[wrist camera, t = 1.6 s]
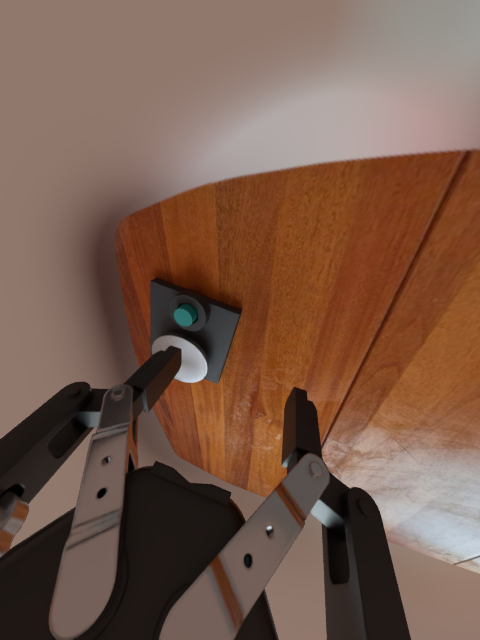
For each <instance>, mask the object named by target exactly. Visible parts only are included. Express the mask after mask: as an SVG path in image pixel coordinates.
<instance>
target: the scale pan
mask: <svg viewBox="0 0 480 640" xmlns="http://www.w3.org/2000/svg"><path fill="white" fill-rule="evenodd" d="M170 345H172V346H175V347H178V348H181V349H182V363H181V367H180V370H179V372H178V373H177V374H176V376H175V377H174V379H176V380H179V381H182V382H188V383H193V382H198V381H200V380H202V379H203V378H204V377H205V375H206V374H207V372H208V369H209V360H208V357H207V355H206V353H205V352H204V350H203V349H202V348H201V347H200V345H199V344H197V343H196V342H195V341H194V340H192V339H191V338H189V337H187V336H185V335H182V334H178V333H166V334H163V335H161V336H159V337H158V338H157V339H156V340H155V341H154V343H153V346H152V354H154V353H156V352H158V351H160V350H163V351H165V350H166V349H167V348H168V347H169V346H170Z"/></svg>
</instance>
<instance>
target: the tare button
mask: <svg viewBox="0 0 480 640" xmlns="http://www.w3.org/2000/svg"><path fill="white" fill-rule="evenodd" d="M174 318H175V320H176V322H177V323H178V324H180V325H182V326H190V325H191V324H192V323H193V322H194V321H195V320H196V318H197V311H196V310H195V308H194V307H193V306H191V305H189V304H183V305H181V306H180V307H179V308H178V309H176V310H175V312H174Z"/></svg>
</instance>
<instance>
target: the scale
mask: <svg viewBox="0 0 480 640" xmlns="http://www.w3.org/2000/svg"><path fill="white" fill-rule="evenodd" d="M183 304H189V305H191V306H193V307H194V308H195V310H196V311H197V318H196V320H195V321H194V322H193V323H192V324H191V325H190V326H182V325H180V324H178V323H177V322H176V320H175V318H174V312H175V310H176V309H178V308H179V307H180V306H181V305H183ZM241 312H242V310H240V309H237V308H234V307H232V306H229V305H226V304H224V303H221V302H218V301H216V300H213V299H210V298H208V297H205V296H203V295H200V294H198V293H195V292H193V291H190V290H187V289H184V288H181V287H179V286H176V285H173V284H171V283H168V282H165V281H163V280H160V279H158V278H156V279H153V280H151V356H152V355H153V354H152V346H153V343H154V341H155V340H156V339H157V338H158V337H159V336H161V335H163V334H166V333H178V334H182V335H185V336H187V337H189V338H191V339H192V340H194V341H195V342H196V343H197V344H199V345H200V347H201V348H202V349H203V350H204V352H205V353H206V355H207V357H208V360H209V369H208V372H207V374H206V375H205V377H204V379H206V380H209V381H211V382H214V383H216V384H218V382H219V380H220V377H221V374H222V371H223V368H224V365H225V361H226V358H227V355H228V352H229V349H230V346H231V343H232V340H233V337H234V334H235V331H236V328H237V324H238V321H239V318H240V315H241Z"/></svg>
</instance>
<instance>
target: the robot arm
mask: <svg viewBox="0 0 480 640" xmlns="http://www.w3.org/2000/svg"><path fill="white" fill-rule="evenodd" d="M181 363H182V349H181V348H178V347H175V346H172V345H170V346H169V347H168V348H167V349H166V350H165V351H163V350H160V351H158V352H156V353H154V354H153V355H152V356H151V357H150V358H149V359H148V361H146V362H145V363H144V364H143V365H142V366H141V367H140V368H139V369H138V370H137V371H136V372H135V373H134V374H133V375H132V376H131V377H130V378H129V379H128V380H127V381H126V382H125V383H123V384H119V385H115V386H113V387H111V388H110V389H91V387H90V385H89V384H88V383H86V382H75V383H72V384H70V385H68V386H66V387H64V388H63V389H62V390H60V391H59V392H58V393H57V394H55V395H54V396H53V397H52V398H51V399H49V400H48V401H47V402H46V403H44V404H43V405H42V406H41V407H39V408H38V409H37V410H36V411H35V412H33V413H32V414H31V415H30V416H28V417H27V418H26V419H25V420H23V421H22V422H21V423H20V424H19V425H17V426H16V427H15V428H14V429H12V430H11V431H10V432H9V433H7V434H6V435H5V436H4V437H3V438H1V439H0V640H279V639H278V635H277V632H276V628H275V624H274V621H273V617H272V613H271V610H270V607H269V603H268V599H267V595H266V592H265V587H266V585H267V583H268V582H269V580H270V579H271V577H272V576H273V574H274V573H275V571H276V569H277V568H278V566H279V565H280V563H281V561H282V560H283V558H284V557H285V555H286V554H287V552H288V551H289V549H290V548H291V546H292V544H293V543H294V541H295V540H296V538H297V537H298V535H299V534H300V532H301V530H302V528H303V527H304V525H305V520H306V518H307V516H308V515H309V513H311V514H312V515H314V516H315V517H316V518H317V519H318V520H319V521H320V522H321V523H322V539H323V559H324V560H323V562H324V584H325V606H326V630H327V640H411V638H410V634H409V629H408V625H407V621H406V617H405V613H404V609H403V605H402V601H401V596H400V592H399V588H398V584H397V580H396V576H395V572H394V568H393V564H392V560H391V555H390V551H389V547H388V543H387V539H386V535H385V530H384V526H383V522H382V518H381V514H380V511H379V509H378V507H377V505H376V503H375V502H374V500H373V499H372V497H371V496H370V495H369V494H368V493H367V492H365V491H364V490H362V489H361V488H358V487H353V488H351V489H350V488H349V487H347V486H346V485H345V484H343V483H342V482H341V481H339V480H338V479H337V478H335V477H334V476H333V475H332V474H331V473H330V471H329V470H328V468H327V466H326V464H325V463H324V461H323V458H322V452H321V443H320V434H319V428H318V426H319V425H318V416H317V410H316V408H315V406H314V404H313V402H311V401H308V400H307V392H306V391H305V390H302V389H299V388H296V387H294V388H293V390H292V392H291V393H290V395H289V397H288V399H287V401H286V404H285V409H284V428H283V446H282V466H284V467H287V476H286V477H285V478H284V479H283V480H282V481H281V482H280V484H279V485H278V486H277V487H276V488H275V489H274V490H273V492H272V493H271V494H270V495H269V496H268V497H267V498H266V500H265V501H264V502H263V503H262V504H261V505H260V507H259V508H258V509H257V510H256V511H255V512H254V513H253V515H252V516H251V517H250V518H249V519H248V520H247V521H245V518H244V516H243V514H242V512H241V511H240V509H239V508H238V506H237V505H236V504H235V503H234V501H233V500H232V499H230V496H231V492H229V491H227V490H224V489H222V488H220V487H217V486H215V485H212V484H198V483H189V482H188V481H187V480H186V479H185V478H184V477H183V476H181V475H180V474H179V473H178V472H177V471H176V470H175V469H174V468H172V467H170V466H167V465H164V464H162V463H160V462H158V461H156V462H155V463H154V465H153V466H146V467H141V468H138V453H137V442H138V416H139V415H140V413H141V412H142V411H144V412H147V413H148V412H149V411H150V410H151V408H152V407H153V406H154V404H155V403H156V402H157V400H158V399H159V398H160V396H161V395H162V393H163V392H164V391H165V389H166V388H167V387H168V385H169V384H170V383H171V381H172V380H173V378H174V377H175V376H176V374H177V373H178V372H179V370H180V367H181ZM94 427H97V431H96V433H95V434H94V435H92V437H91V440H90V444H89V449H88V453H87V458H86V463H85V467H84V472H83V477H82V481H81V486H80V491H79V495H78V500H77V505H76V507H74V508H73V509H71V510H70V511H68V512H67V513H65V514H64V515H62V516H60V517H59V518H57V519H56V520H54V521H53V522H51V523H50V524H48V525H47V526H45V527H44V528H42V529H40V530H39V531H37V532H36V533H34V534H33V535H31V536H30V537H28V538H27V539H25V540H23V541H22V542H21V543H19V544H17V545H16V546H14V547H13V548H12V549H10V546H11V543H12V541H13V538H14V537H15V535H16V533H17V532H18V531H19V530H20V529H21V527H22V524H23V523H24V521H25V520H26V517H27V515H28V511H29V505H28V504H29V503H30V501H31V500H32V499H33V498H34V497H35V495H36V494H37V493H38V492H39V491H40V490H41V489H42V487H43V486H44V485H45V484H46V483H47V482H48V481H49V479H50V478H51V477H52V476H53V475H54V474H55V472H56V471H57V470H58V469H59V468H60V467H61V465H62V464H63V463H64V462H65V461H66V460H67V459H68V457H69V456H70V455H71V454H72V453H73V451H74V450H75V449H76V448H77V447H78V446H79V445H80V443H81V442H82V441H83V440H84V439H85V438H86V436H87V435H88V434H89V433H90V432H91V431H92V429H93V428H94Z"/></svg>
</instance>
